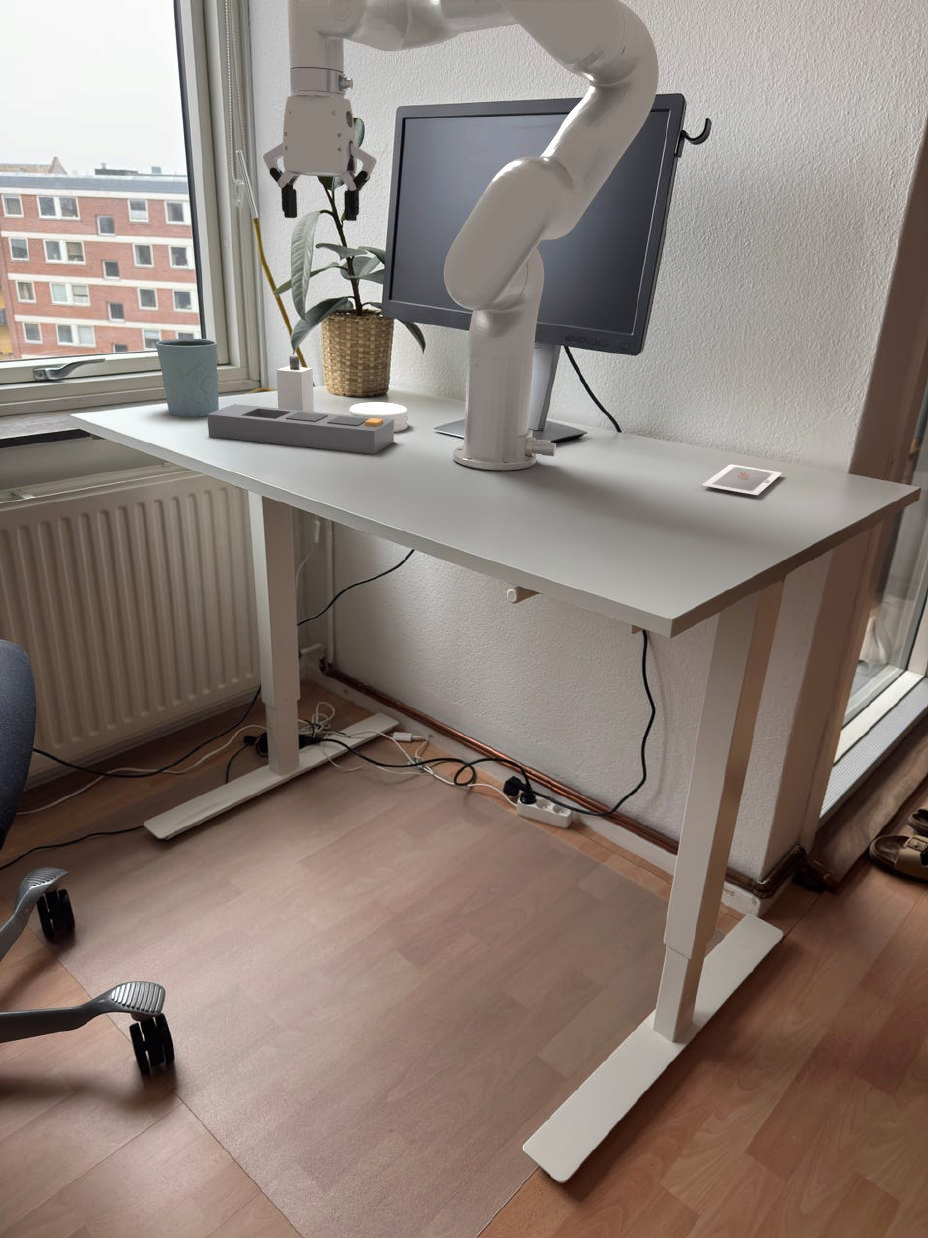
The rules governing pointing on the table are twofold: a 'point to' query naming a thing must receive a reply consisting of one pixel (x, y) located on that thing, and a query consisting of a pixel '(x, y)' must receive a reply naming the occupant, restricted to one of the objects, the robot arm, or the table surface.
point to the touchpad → (742, 479)
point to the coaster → (382, 413)
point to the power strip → (302, 428)
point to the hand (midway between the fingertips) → (320, 219)
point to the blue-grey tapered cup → (189, 376)
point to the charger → (295, 387)
